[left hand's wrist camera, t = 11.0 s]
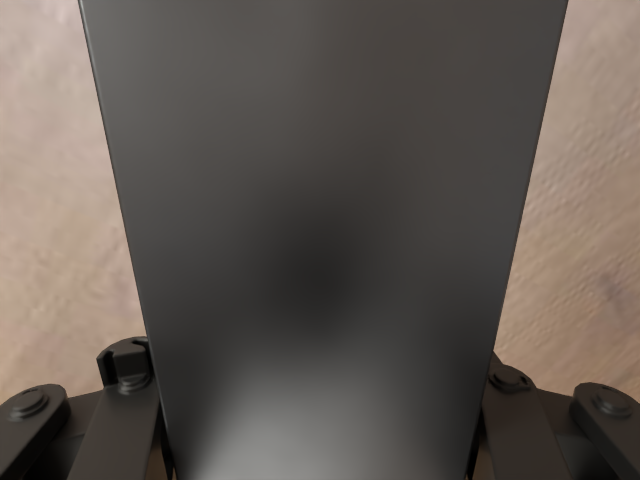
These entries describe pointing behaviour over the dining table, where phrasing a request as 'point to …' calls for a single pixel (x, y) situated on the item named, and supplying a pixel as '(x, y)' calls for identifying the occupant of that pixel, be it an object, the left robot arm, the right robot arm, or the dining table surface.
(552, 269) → the dining table surface
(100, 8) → the bar
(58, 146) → the dining table surface
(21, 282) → the dining table surface
